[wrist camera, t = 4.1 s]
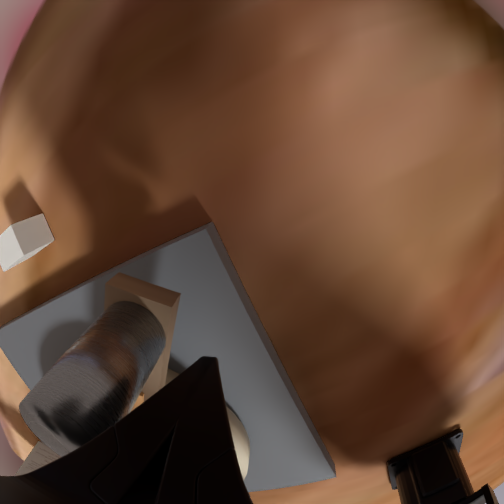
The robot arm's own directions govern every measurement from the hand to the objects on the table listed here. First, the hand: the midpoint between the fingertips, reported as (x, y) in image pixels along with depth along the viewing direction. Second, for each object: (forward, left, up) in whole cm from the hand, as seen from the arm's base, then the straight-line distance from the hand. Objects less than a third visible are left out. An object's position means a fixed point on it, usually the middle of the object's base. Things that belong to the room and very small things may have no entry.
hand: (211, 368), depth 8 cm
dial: (-5, +8, -4) cm, 10 cm away
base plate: (-4, +9, -6) cm, 12 cm away
